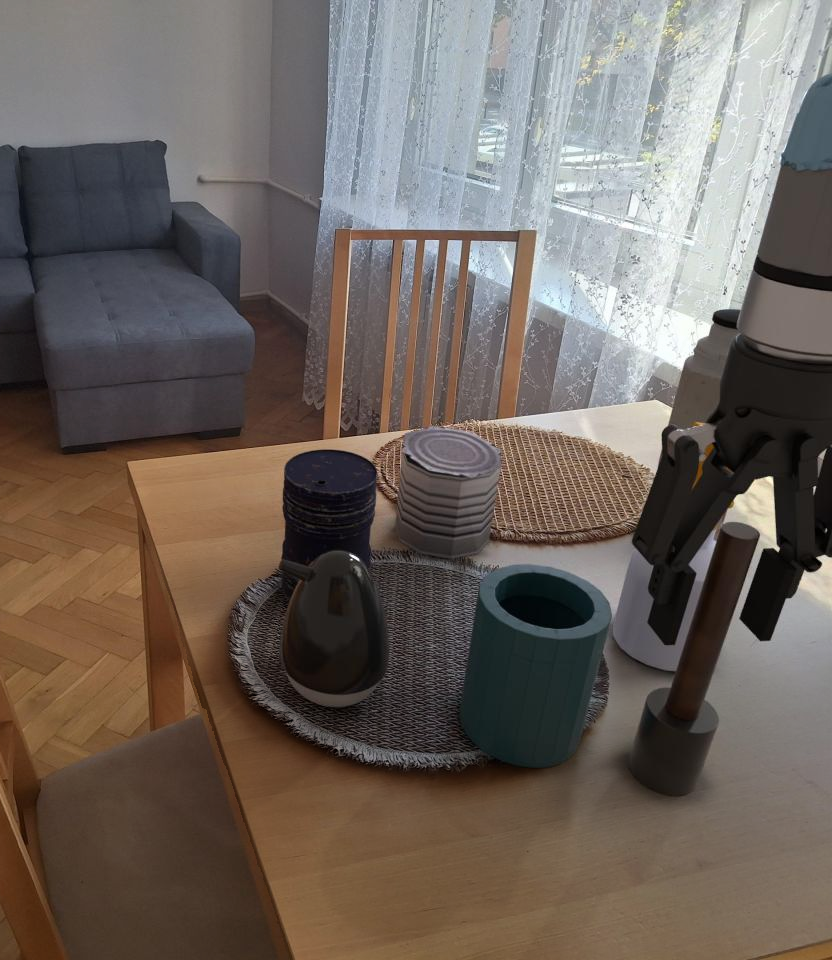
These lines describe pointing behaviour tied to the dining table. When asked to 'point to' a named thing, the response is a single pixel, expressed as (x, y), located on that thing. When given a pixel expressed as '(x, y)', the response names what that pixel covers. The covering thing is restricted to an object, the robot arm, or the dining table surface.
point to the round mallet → (693, 676)
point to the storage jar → (327, 507)
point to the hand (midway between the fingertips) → (707, 631)
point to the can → (446, 492)
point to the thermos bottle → (704, 376)
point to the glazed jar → (532, 663)
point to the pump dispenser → (334, 630)
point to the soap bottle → (638, 602)
